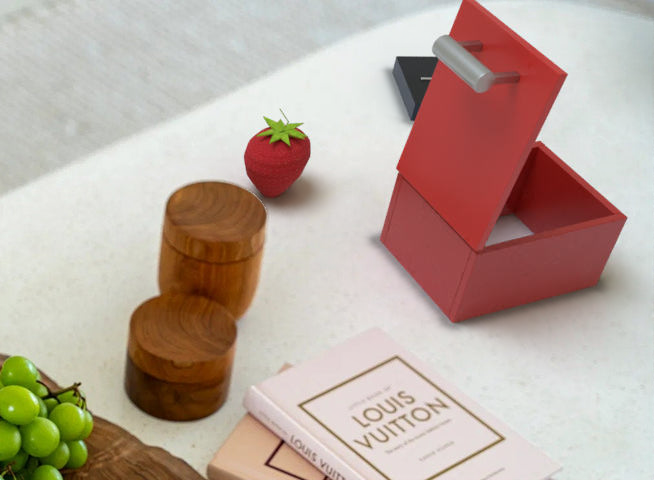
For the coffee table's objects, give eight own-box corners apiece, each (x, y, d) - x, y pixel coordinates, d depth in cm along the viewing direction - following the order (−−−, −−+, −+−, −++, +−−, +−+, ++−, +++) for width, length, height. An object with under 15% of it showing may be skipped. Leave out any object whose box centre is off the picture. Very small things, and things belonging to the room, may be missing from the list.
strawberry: (223, 201, 117) (235, 116, 109) (269, 171, 120) (284, 86, 113) (269, 227, 114) (285, 141, 107) (315, 195, 117) (333, 110, 110)
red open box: (512, 214, 116) (540, 140, 109) (593, 292, 107) (628, 217, 101) (377, 247, 112) (397, 172, 105) (450, 330, 104) (477, 254, 97)
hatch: (471, -4, 94) (419, -2, 92) (568, 74, 86) (514, 77, 84) (402, 167, 105) (355, 172, 104) (482, 250, 97) (433, 256, 95)
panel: (493, 80, 133) (501, 55, 131) (517, 128, 126) (526, 103, 124) (390, 79, 133) (396, 54, 131) (408, 128, 126) (415, 102, 124)
